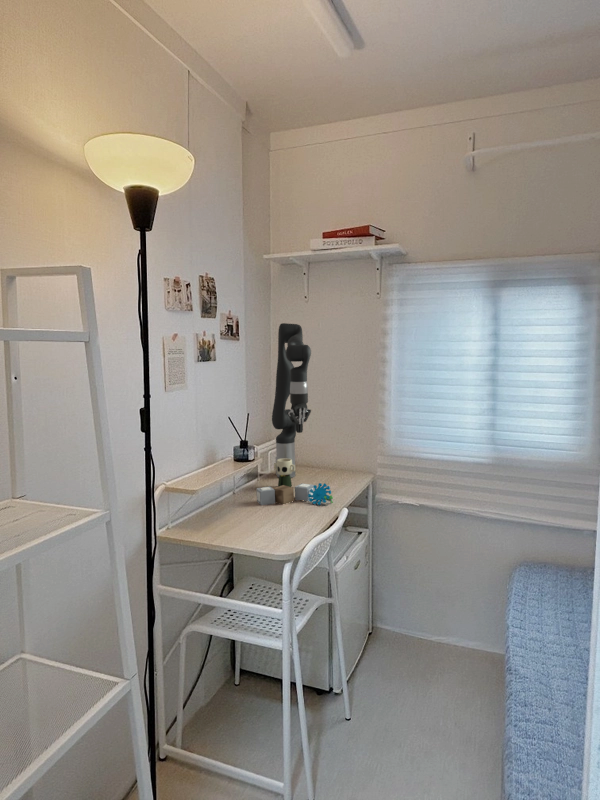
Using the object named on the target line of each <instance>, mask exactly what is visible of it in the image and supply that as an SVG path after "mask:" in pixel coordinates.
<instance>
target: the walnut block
mask: <svg viewBox="0 0 600 800" xmlns="http://www.w3.org/2000/svg"><path fill="white" fill-rule="evenodd" d="M272 488H273V489H274V490H275V502H277V503H276V504H279V503H280V504H279V505H283V504H285V505H287V504H286V503H288V504H290V503H293V502H294V501H295V487H293V486H291V487H289V486H285V485H282V486H279V487H278V486H276V487H272ZM292 501H293V502H292ZM289 502H290V503H289Z"/></svg>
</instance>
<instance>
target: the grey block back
mask: <svg viewBox="0 0 600 800" xmlns="http://www.w3.org/2000/svg"><path fill="white" fill-rule="evenodd" d="M314 485H315V484H312V483H311V484H310V483H299V484H298V485H295V486H294V500H295V499H296V500H295V501H298V500H304V501H303V502H305V501H308V502H310V501H309V499H310V498H314V497H310V498H309V497H308V495H309V494H311V495H313V493H311V492H310V489H312V490H313V492H314V491H315V488H314V487H313V486H314Z"/></svg>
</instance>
